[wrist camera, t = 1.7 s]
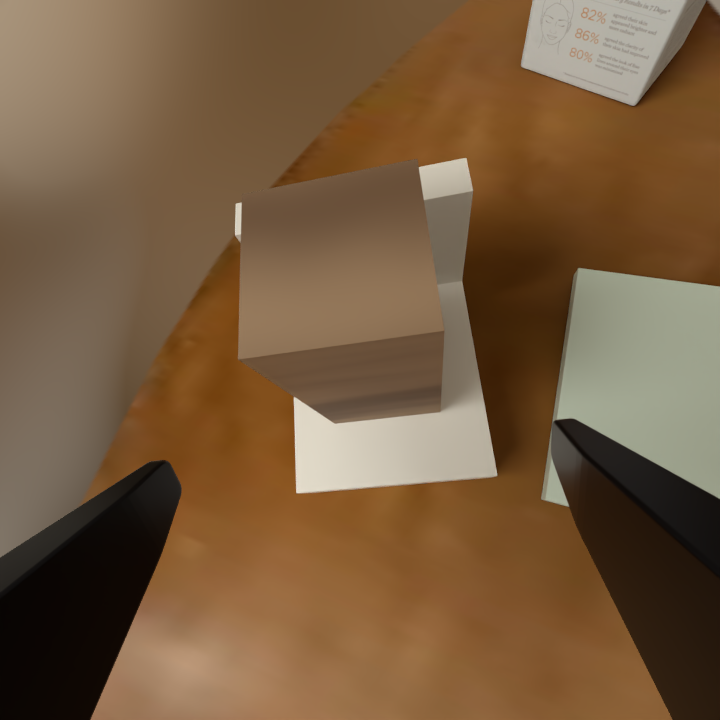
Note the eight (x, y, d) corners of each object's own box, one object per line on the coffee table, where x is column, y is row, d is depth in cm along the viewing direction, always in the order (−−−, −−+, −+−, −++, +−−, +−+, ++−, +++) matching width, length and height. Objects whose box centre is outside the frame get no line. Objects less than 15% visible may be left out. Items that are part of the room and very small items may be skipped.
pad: (800, 569, 16) (817, 573, 16) (541, 499, 19) (545, 500, 18) (796, 306, 19) (810, 298, 19) (573, 275, 22) (578, 268, 21)
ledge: (490, 477, 20) (531, 467, 11) (312, 493, 21) (227, 494, 12) (455, 279, 23) (466, 157, 15) (305, 302, 24) (236, 203, 16)
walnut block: (440, 412, 18) (444, 330, 9) (334, 423, 19) (238, 359, 10) (426, 313, 20) (417, 158, 11) (329, 327, 21) (241, 194, 11)
